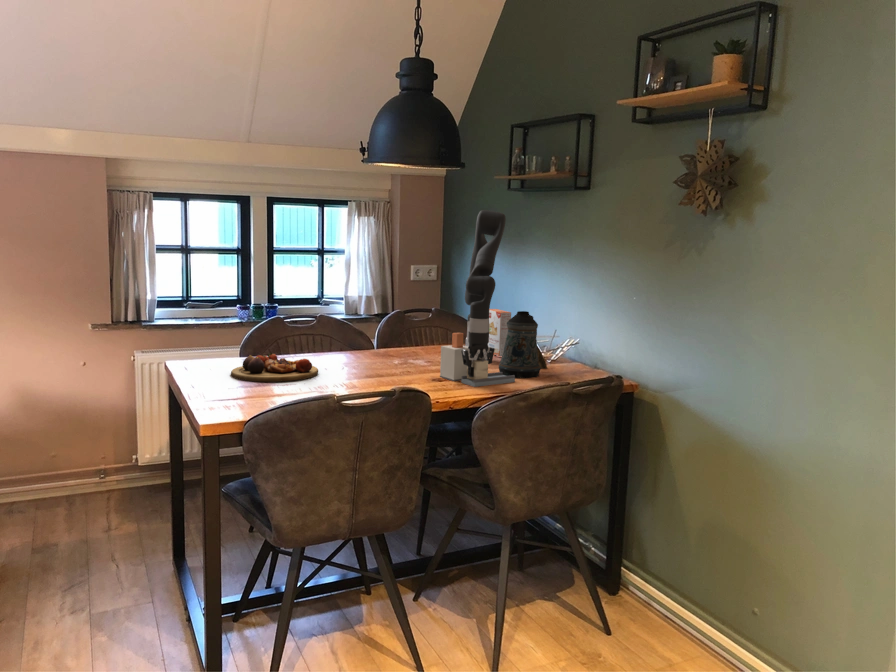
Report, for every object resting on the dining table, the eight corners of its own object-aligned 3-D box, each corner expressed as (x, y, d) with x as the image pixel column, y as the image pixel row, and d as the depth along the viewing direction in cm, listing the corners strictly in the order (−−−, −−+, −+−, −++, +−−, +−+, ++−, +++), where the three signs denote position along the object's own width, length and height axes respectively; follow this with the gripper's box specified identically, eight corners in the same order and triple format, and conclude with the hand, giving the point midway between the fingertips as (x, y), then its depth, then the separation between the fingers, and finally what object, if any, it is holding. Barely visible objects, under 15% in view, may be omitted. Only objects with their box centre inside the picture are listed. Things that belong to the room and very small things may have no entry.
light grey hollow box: (439, 376, 269) (440, 346, 268) (459, 374, 275) (460, 344, 273) (453, 381, 262) (454, 349, 260) (473, 379, 267) (474, 348, 266)
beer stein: (498, 377, 272) (501, 313, 268) (498, 368, 291) (500, 308, 288) (541, 379, 271) (544, 315, 268) (538, 370, 290) (541, 309, 287)
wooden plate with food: (335, 375, 269) (336, 353, 268) (270, 386, 243) (270, 363, 242) (279, 365, 287) (279, 345, 286) (213, 375, 262) (212, 354, 261)
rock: (514, 359, 300) (524, 360, 290) (525, 343, 302) (535, 343, 292) (533, 374, 303) (543, 375, 293) (544, 358, 304) (554, 359, 295)
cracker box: (483, 353, 329) (485, 308, 326) (495, 352, 332) (496, 308, 329) (498, 358, 316) (500, 312, 314) (510, 357, 319) (512, 311, 316)
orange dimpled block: (451, 356, 267) (452, 332, 266) (458, 355, 269) (458, 332, 268) (456, 357, 265) (457, 333, 264) (462, 356, 267) (463, 333, 266)
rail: (461, 382, 260) (461, 376, 259) (501, 378, 271) (501, 371, 270) (474, 386, 253) (474, 380, 253) (514, 382, 264) (514, 375, 264)
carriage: (466, 378, 260) (467, 357, 259) (477, 376, 263) (478, 356, 262) (476, 381, 255) (477, 359, 254) (487, 379, 258) (488, 358, 257)
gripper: (488, 328, 263) (486, 372, 266) (457, 330, 255) (455, 376, 257) (500, 330, 257) (498, 376, 260) (469, 332, 249) (467, 379, 251)
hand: (477, 375), depth 259 cm, fingers closed on carriage, 5 cm apart
